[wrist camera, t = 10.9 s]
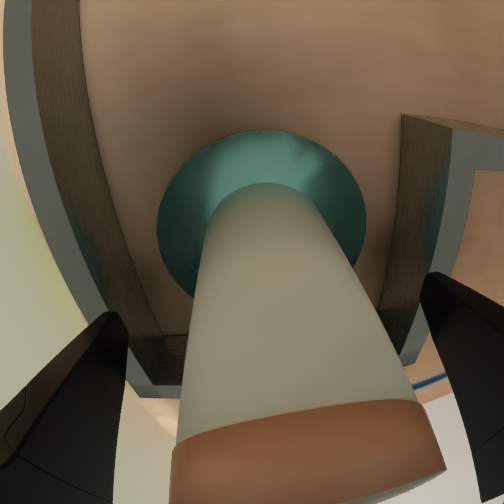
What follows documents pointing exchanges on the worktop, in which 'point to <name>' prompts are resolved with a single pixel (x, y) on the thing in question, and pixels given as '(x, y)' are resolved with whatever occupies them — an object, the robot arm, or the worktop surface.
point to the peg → (291, 370)
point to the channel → (215, 195)
